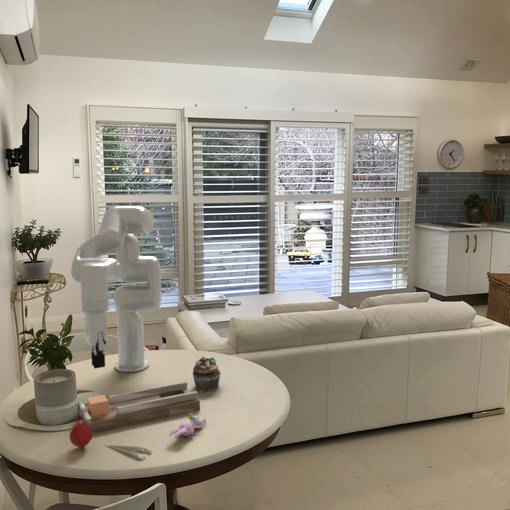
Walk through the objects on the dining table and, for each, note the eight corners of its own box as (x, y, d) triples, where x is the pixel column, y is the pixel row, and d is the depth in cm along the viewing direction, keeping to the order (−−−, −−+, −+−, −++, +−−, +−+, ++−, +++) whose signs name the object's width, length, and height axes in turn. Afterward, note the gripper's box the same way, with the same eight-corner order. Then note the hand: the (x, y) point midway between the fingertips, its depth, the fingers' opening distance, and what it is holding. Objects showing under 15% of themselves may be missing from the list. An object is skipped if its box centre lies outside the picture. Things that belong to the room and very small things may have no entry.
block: (88, 410, 162) (87, 397, 161) (104, 407, 164) (104, 394, 163) (91, 417, 157) (90, 404, 157) (108, 413, 160) (108, 400, 159)
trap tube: (79, 414, 166) (78, 399, 165) (184, 393, 181) (184, 379, 180) (88, 434, 153) (87, 417, 153) (199, 409, 169) (199, 394, 168)
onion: (70, 444, 148) (68, 417, 146) (92, 441, 150) (90, 413, 148) (71, 455, 142) (69, 426, 141) (93, 451, 144) (92, 422, 143)
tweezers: (153, 454, 144) (152, 447, 143) (142, 463, 139) (141, 456, 139) (102, 444, 151) (101, 437, 151) (90, 452, 147) (89, 446, 147)
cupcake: (189, 390, 184) (188, 362, 182) (198, 380, 193) (198, 353, 191) (215, 393, 181) (215, 364, 180) (224, 382, 191) (223, 355, 189)
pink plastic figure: (192, 425, 161) (162, 439, 148) (194, 406, 161) (163, 418, 148) (210, 430, 159) (180, 445, 145) (211, 410, 159) (182, 423, 145)
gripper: (77, 300, 162) (80, 359, 164) (87, 313, 148) (90, 377, 151) (102, 298, 165) (105, 355, 168) (115, 309, 151) (117, 372, 154)
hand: (98, 365), depth 159 cm, fingers closed
